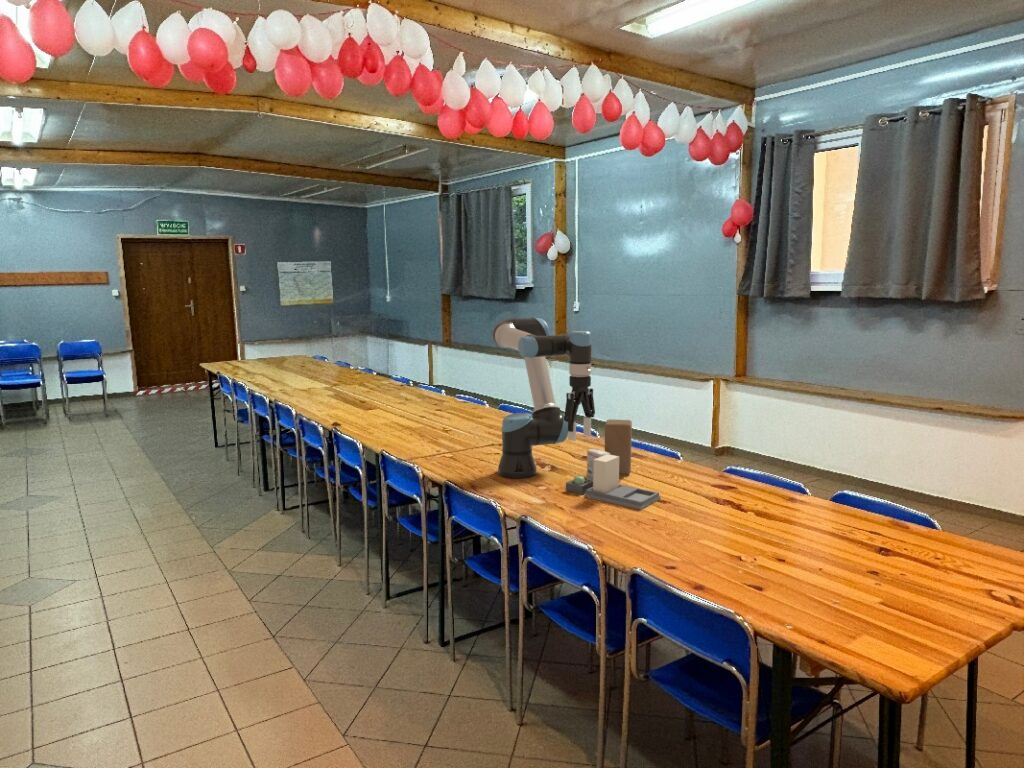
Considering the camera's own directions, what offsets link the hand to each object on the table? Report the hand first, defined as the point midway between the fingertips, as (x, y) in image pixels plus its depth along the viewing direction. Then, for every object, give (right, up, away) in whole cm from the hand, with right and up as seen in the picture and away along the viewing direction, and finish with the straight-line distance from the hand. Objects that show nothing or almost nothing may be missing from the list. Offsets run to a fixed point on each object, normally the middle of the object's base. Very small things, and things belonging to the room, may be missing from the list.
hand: (579, 437), depth 240 cm
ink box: (+8, -18, +13) cm, 24 cm away
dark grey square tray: (0, -19, +3) cm, 20 cm away
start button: (0, -18, +3) cm, 19 cm away
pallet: (+14, -21, -6) cm, 26 cm away
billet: (+9, -19, -2) cm, 21 cm away
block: (+18, -16, +26) cm, 35 cm away
